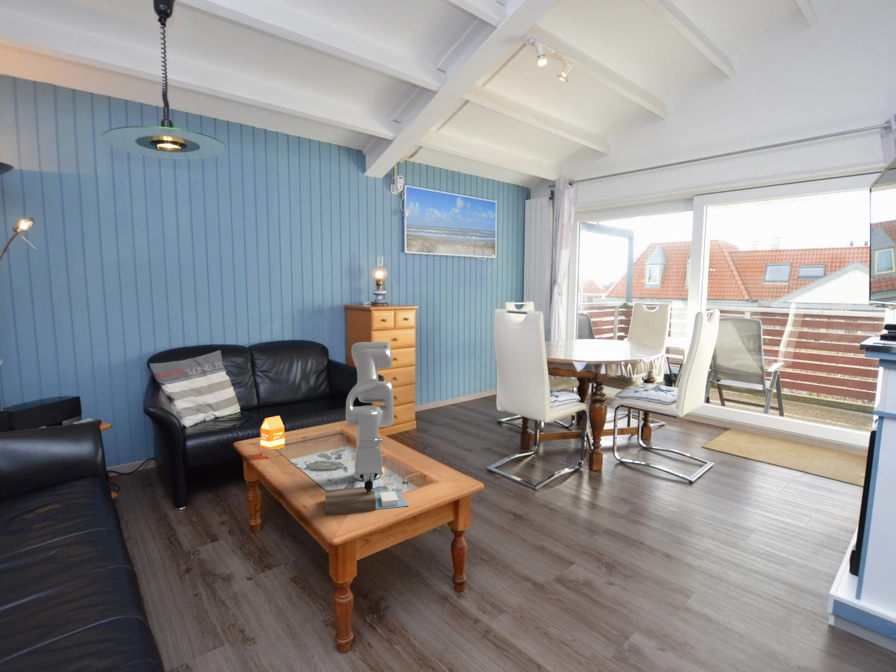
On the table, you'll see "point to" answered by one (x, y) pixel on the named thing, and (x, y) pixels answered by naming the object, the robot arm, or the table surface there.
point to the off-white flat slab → (388, 498)
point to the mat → (400, 504)
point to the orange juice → (272, 433)
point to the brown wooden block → (349, 500)
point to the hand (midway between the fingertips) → (368, 490)
